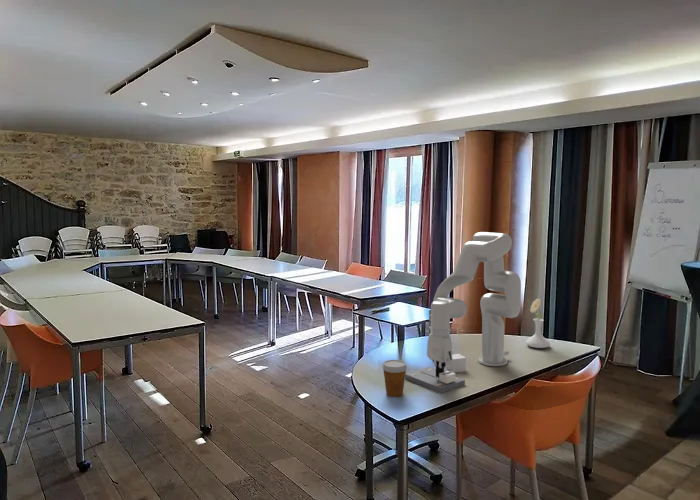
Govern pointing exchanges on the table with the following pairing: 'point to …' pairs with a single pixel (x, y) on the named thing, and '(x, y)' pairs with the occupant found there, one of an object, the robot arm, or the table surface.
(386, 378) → the disposable coffee cup
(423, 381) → the console
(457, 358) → the white cube
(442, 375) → the fader
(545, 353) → the table surface
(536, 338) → the flower in vase
